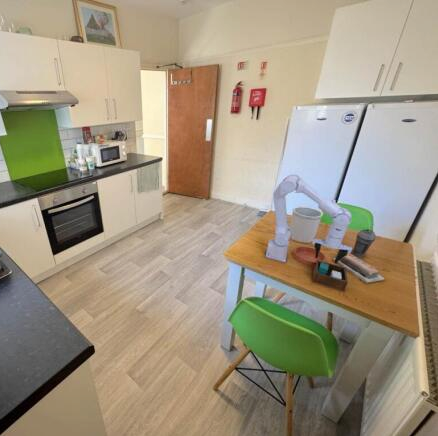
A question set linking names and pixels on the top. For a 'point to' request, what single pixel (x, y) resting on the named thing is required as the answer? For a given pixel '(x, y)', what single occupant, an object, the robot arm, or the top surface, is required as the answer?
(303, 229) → the utensil holder
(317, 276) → the box
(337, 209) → the robot arm
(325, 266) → the teal packet
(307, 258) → the bowl
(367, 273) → the packaged product
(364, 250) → the beverage cup
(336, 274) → the silver packet
